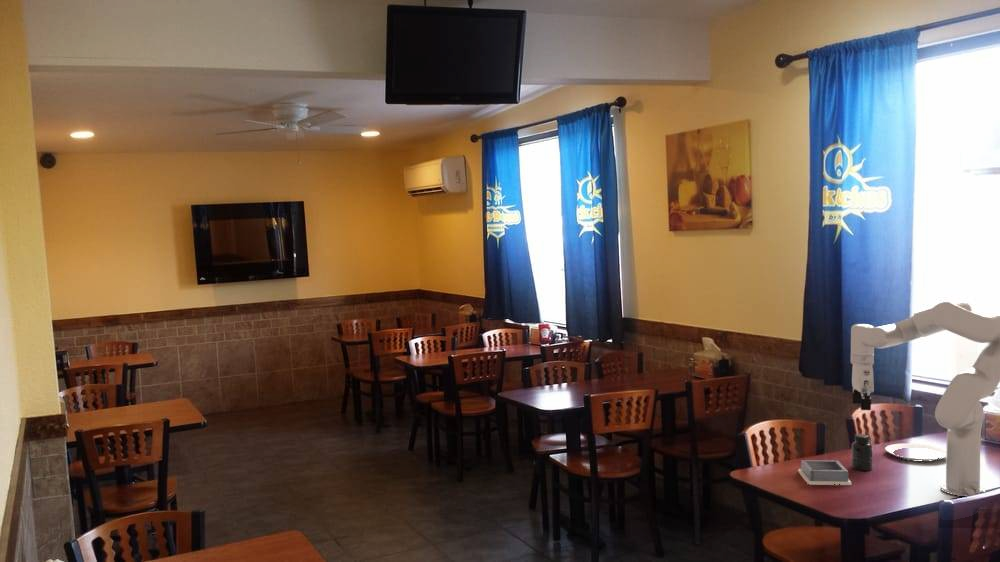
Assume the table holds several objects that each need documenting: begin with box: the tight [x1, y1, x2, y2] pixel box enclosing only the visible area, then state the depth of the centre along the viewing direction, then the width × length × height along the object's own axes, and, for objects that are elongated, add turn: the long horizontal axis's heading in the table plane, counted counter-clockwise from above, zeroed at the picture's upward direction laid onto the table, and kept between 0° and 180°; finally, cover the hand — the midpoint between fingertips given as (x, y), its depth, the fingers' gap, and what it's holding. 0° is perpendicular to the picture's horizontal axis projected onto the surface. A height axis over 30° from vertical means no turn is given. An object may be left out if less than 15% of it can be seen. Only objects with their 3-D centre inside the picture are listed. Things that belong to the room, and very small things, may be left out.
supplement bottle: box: [851, 433, 874, 472], centre depth 288 cm, size 7×7×12 cm
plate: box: [884, 442, 946, 461], centre depth 301 cm, size 21×21×2 cm
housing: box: [797, 459, 852, 486], centre depth 279 cm, size 14×14×4 cm
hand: (861, 406), depth 287 cm, fingers open, 9 cm apart
